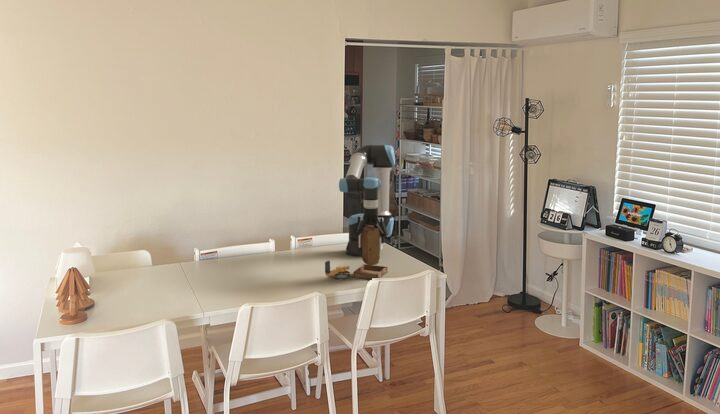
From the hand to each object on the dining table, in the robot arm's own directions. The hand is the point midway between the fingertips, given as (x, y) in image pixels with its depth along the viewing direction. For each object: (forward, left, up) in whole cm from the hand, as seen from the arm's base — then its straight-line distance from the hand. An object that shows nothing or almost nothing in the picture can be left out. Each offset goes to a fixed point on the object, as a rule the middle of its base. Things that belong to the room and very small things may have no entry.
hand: (370, 248), depth 328 cm
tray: (0, 0, -15) cm, 15 cm away
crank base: (+9, -14, -15) cm, 22 cm away
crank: (+11, -14, -12) cm, 22 cm away
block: (0, 0, -8) cm, 8 cm away
